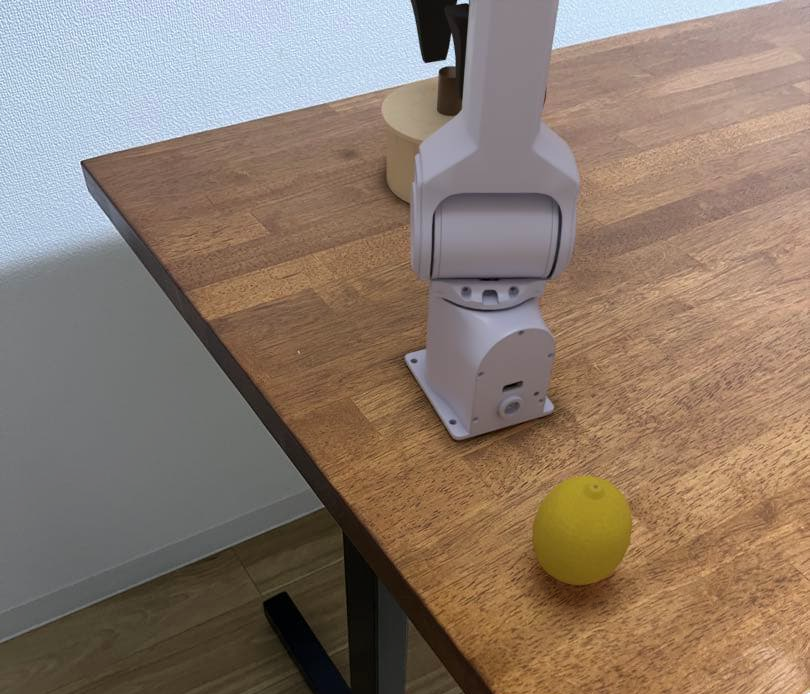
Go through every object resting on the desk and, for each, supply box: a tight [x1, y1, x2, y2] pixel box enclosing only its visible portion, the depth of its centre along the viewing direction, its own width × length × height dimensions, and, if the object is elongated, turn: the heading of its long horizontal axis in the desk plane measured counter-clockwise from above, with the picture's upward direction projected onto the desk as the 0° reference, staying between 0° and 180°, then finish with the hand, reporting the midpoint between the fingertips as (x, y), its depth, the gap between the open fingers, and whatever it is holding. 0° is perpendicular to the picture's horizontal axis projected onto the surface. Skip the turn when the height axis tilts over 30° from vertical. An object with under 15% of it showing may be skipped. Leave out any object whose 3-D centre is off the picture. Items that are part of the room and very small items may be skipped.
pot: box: [386, 127, 420, 204], centre depth 75 cm, size 11×11×6 cm
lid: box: [380, 65, 462, 145], centre depth 72 cm, size 12×12×4 cm
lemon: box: [531, 475, 633, 586], centre depth 47 cm, size 6×6×8 cm
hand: (451, 78), depth 70 cm, fingers open, 7 cm apart
